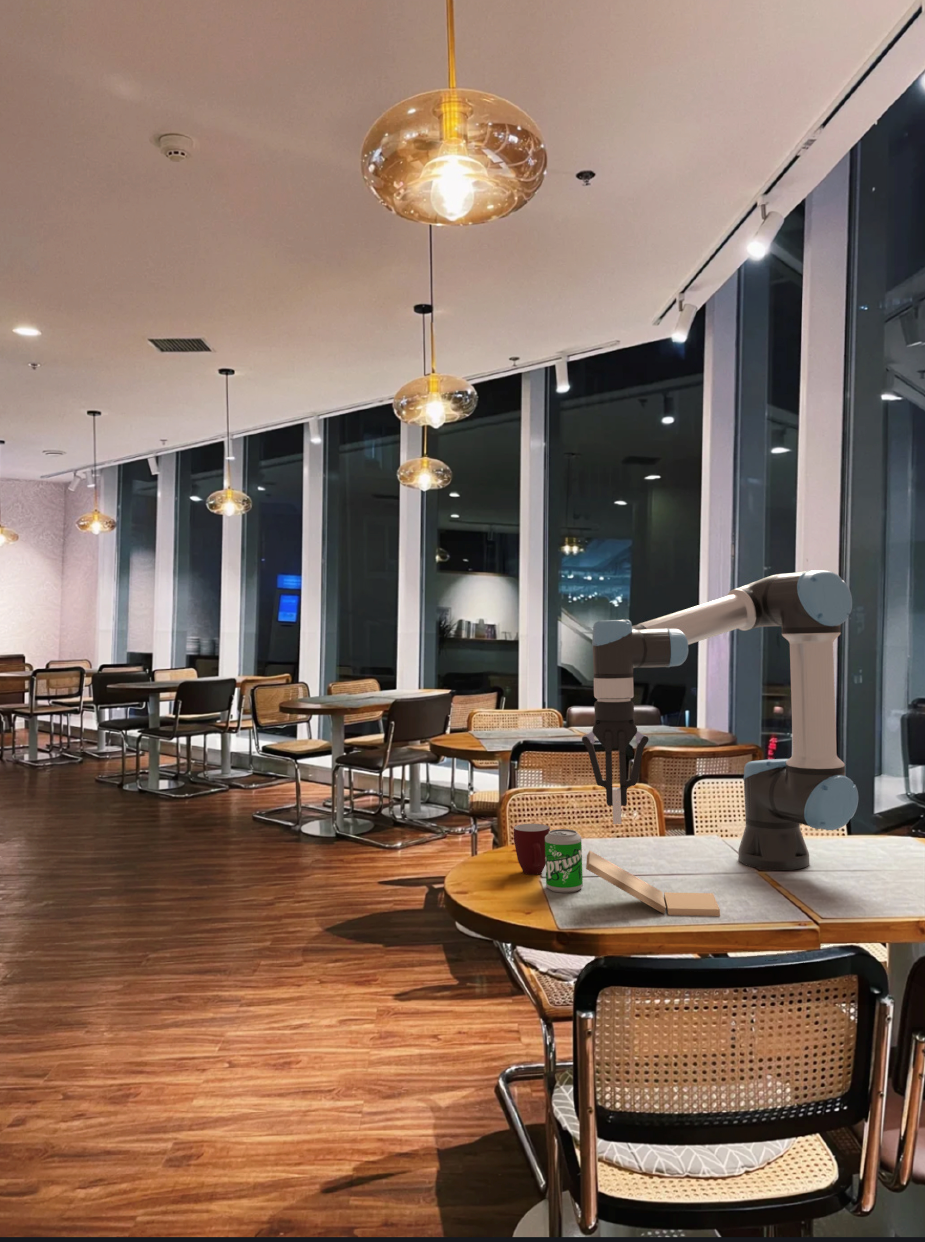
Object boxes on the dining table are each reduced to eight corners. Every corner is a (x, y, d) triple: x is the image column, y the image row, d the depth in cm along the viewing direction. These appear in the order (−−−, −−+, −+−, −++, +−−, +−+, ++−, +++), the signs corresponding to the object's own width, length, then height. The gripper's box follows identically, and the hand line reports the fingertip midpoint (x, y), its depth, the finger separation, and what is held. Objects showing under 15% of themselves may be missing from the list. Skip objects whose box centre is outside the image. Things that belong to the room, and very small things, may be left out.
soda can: (543, 886, 185) (541, 829, 185) (578, 884, 186) (576, 827, 186) (549, 897, 178) (548, 837, 178) (586, 895, 178) (584, 835, 178)
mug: (560, 878, 190) (559, 832, 191) (525, 882, 188) (523, 835, 188) (543, 866, 201) (542, 822, 201) (509, 869, 199) (508, 825, 199)
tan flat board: (712, 900, 172) (712, 892, 172) (720, 919, 161) (720, 910, 161) (573, 898, 176) (573, 890, 176) (571, 915, 165) (571, 907, 165)
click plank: (660, 897, 173) (663, 892, 173) (664, 914, 163) (667, 908, 163) (586, 855, 176) (589, 850, 175) (586, 869, 166) (589, 863, 166)
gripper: (647, 697, 173) (650, 818, 172) (580, 698, 175) (583, 818, 174) (649, 700, 165) (653, 827, 165) (579, 701, 167) (582, 826, 167)
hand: (617, 822), depth 170 cm, fingers closed
